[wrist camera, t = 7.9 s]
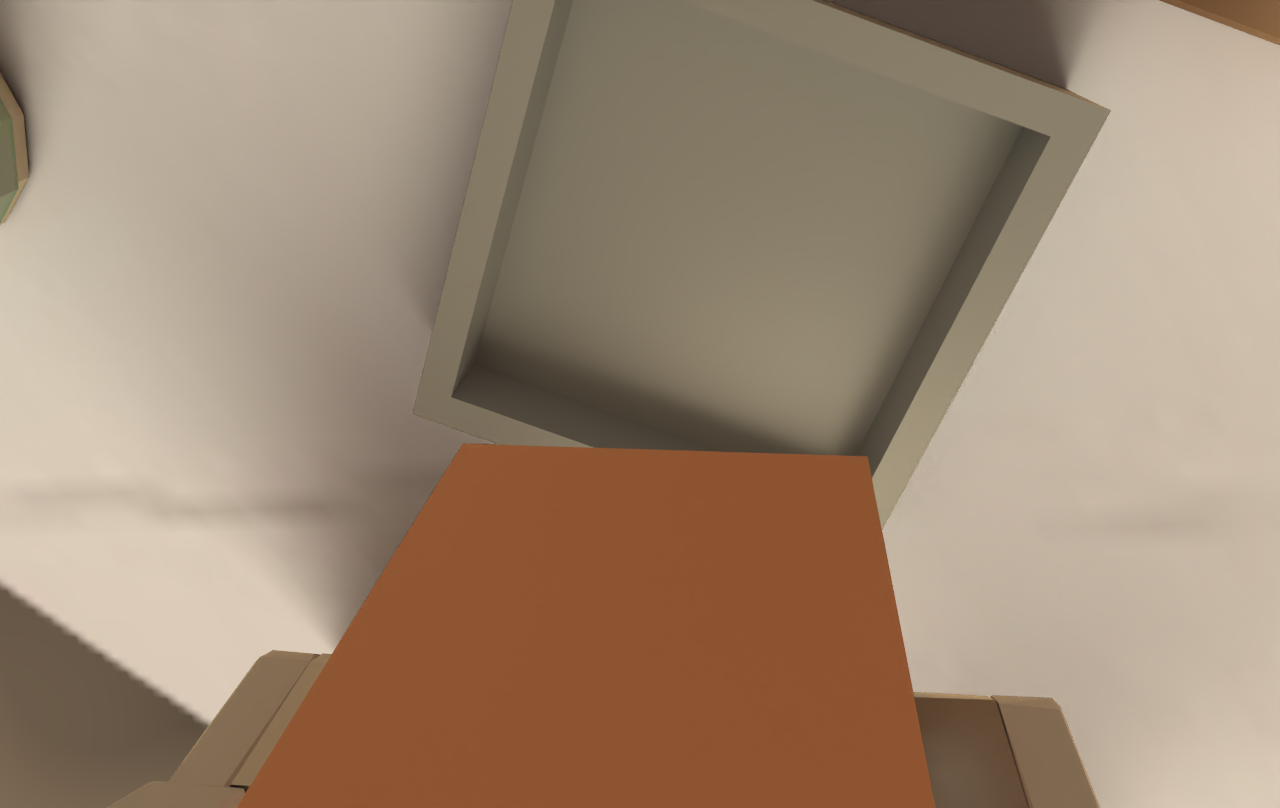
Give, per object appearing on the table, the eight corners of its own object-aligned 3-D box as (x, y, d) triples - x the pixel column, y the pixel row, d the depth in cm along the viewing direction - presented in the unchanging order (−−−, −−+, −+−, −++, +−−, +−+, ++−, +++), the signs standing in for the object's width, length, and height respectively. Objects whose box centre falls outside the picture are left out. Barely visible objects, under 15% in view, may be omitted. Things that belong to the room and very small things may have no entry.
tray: (1067, 89, 21) (1111, 110, 18) (850, 506, 26) (859, 571, 23) (568, -95, 20) (537, -102, 18) (450, 364, 26) (412, 413, 23)
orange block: (867, 456, 9) (964, 953, 5) (842, 764, 11) (893, 1345, 6) (462, 443, 10) (190, 880, 5) (499, 739, 11) (322, 1261, 7)
